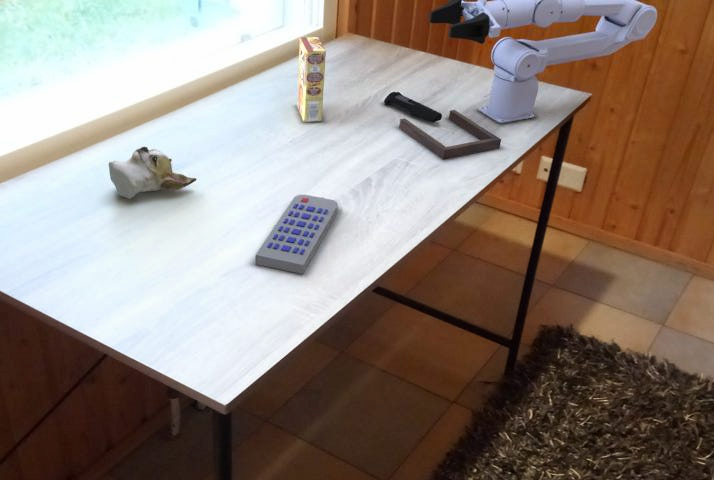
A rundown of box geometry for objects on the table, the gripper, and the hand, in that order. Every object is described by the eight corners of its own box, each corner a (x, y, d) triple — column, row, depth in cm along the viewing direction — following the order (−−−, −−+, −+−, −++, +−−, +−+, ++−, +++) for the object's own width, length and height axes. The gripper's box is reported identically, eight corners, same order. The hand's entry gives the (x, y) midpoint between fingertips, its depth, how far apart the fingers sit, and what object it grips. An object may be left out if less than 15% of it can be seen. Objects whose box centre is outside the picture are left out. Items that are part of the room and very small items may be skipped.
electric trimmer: (431, 129, 173) (434, 115, 171) (382, 104, 183) (383, 90, 181) (444, 125, 175) (446, 111, 173) (394, 100, 185) (396, 87, 183)
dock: (452, 118, 178) (454, 109, 176) (499, 148, 166) (501, 139, 165) (398, 127, 173) (400, 119, 172) (442, 159, 161) (444, 150, 160)
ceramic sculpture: (95, 142, 143) (170, 128, 151) (97, 187, 148) (169, 171, 156) (122, 166, 137) (199, 150, 144) (123, 212, 142) (197, 195, 149)
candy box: (322, 122, 174) (327, 50, 165) (302, 122, 174) (306, 51, 165) (314, 105, 181) (318, 36, 172) (295, 106, 181) (299, 36, 172)
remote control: (254, 265, 130) (255, 253, 128) (297, 200, 147) (298, 189, 145) (302, 275, 128) (303, 263, 126) (340, 208, 145) (341, 197, 143)
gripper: (483, -18, 167) (424, -9, 163) (524, 8, 157) (462, 17, 153) (477, 16, 172) (420, 25, 168) (516, 43, 162) (456, 54, 158)
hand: (439, 24), depth 161 cm, fingers open, 7 cm apart
